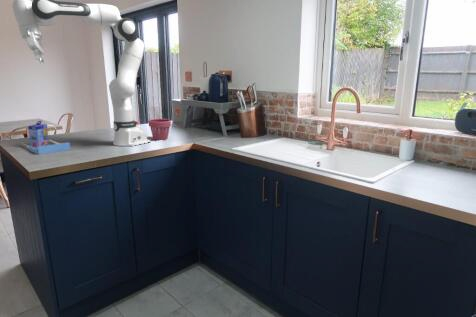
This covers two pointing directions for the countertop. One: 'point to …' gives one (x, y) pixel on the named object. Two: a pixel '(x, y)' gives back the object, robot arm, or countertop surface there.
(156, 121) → the plant pot
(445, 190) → the countertop surface
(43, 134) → the ink cartridge box
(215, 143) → the countertop surface
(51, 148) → the light blue tray
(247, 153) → the countertop surface
